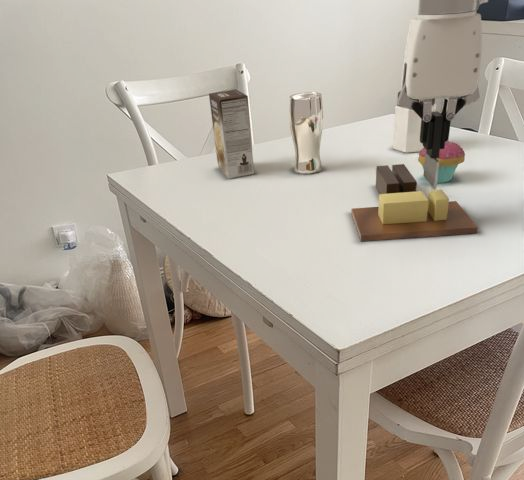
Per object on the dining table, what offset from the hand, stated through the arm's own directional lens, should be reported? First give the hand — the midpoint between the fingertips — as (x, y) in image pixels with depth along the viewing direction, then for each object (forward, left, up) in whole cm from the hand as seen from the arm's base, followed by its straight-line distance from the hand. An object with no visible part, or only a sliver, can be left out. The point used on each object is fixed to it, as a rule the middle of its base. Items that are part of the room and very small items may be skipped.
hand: (433, 146), depth 82 cm
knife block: (+2, -14, -12) cm, 19 cm away
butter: (+4, 0, -11) cm, 12 cm away
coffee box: (+33, -37, -12) cm, 51 cm away
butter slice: (-2, 0, -11) cm, 11 cm away
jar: (-8, -45, -12) cm, 47 cm away
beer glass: (+17, -34, -12) cm, 40 cm away
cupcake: (-8, -21, -12) cm, 26 cm away
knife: (0, 0, -6) cm, 6 cm away
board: (+2, 0, -12) cm, 12 cm away
